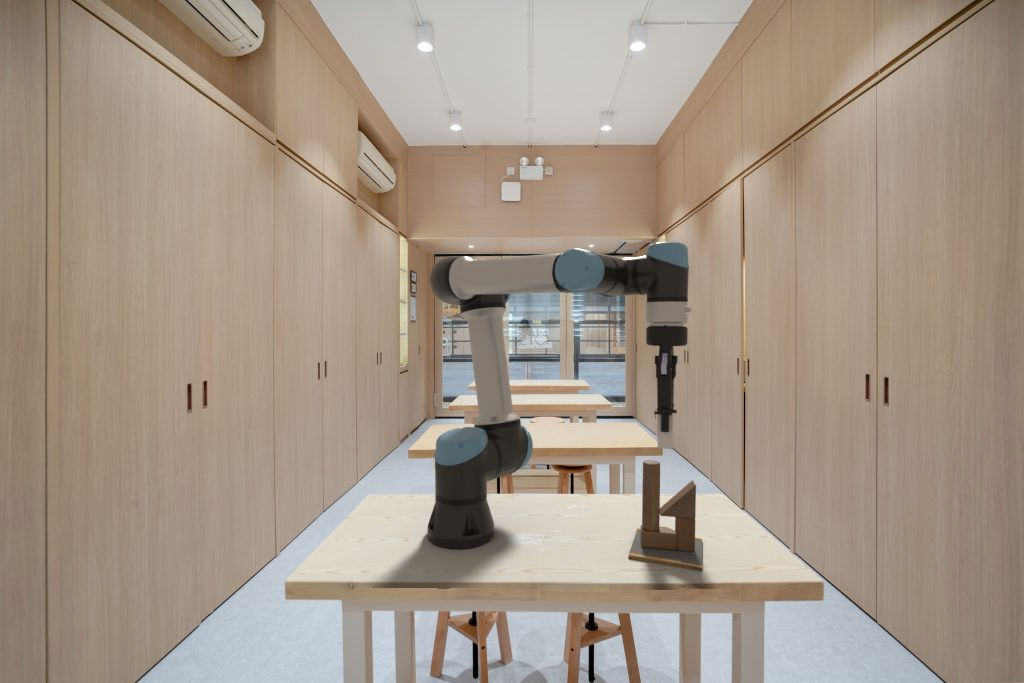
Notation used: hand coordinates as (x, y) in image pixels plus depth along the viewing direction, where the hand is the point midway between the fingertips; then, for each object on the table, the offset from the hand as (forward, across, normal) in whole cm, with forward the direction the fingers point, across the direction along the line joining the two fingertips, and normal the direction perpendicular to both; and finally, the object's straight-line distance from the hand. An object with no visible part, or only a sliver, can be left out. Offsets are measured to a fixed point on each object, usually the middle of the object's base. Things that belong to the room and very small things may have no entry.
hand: (665, 447), depth 93 cm
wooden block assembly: (+24, +10, 0) cm, 26 cm away
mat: (+24, +10, 0) cm, 26 cm away
